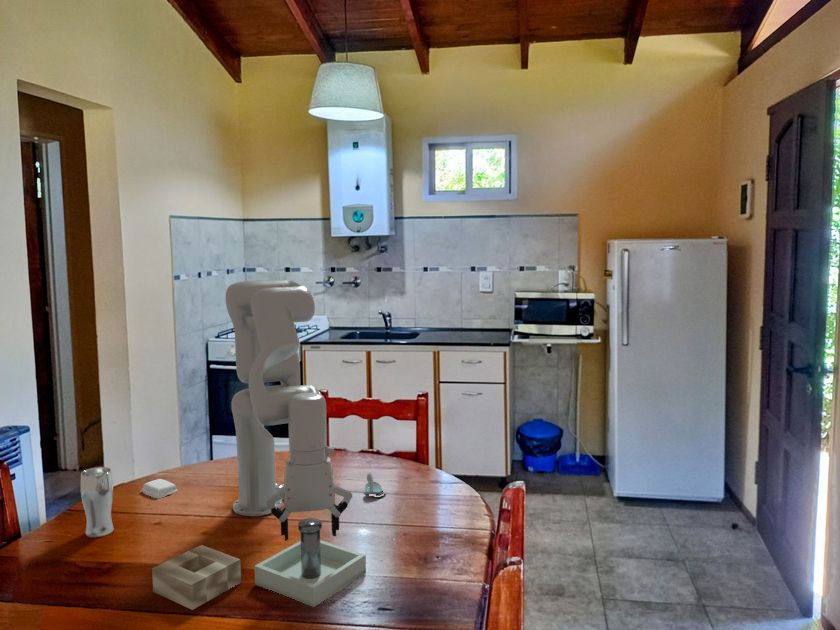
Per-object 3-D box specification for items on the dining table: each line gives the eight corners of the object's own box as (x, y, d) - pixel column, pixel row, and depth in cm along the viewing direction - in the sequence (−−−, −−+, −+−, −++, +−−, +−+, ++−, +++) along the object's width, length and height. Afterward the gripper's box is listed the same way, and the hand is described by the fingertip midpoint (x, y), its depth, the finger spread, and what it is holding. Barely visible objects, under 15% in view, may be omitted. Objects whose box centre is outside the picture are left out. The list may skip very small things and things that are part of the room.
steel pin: (310, 566, 142) (309, 516, 140) (327, 572, 139) (326, 521, 138) (294, 575, 138) (293, 524, 136) (312, 582, 135) (310, 530, 134)
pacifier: (386, 490, 187) (365, 489, 187) (387, 468, 187) (365, 467, 187) (385, 500, 180) (362, 499, 180) (385, 478, 179) (363, 477, 179)
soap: (179, 493, 186) (179, 483, 186) (157, 500, 181) (156, 490, 181) (162, 485, 192) (161, 476, 191) (139, 492, 186) (139, 482, 186)
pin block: (202, 567, 144) (201, 544, 143) (241, 582, 137) (240, 559, 136) (153, 591, 134) (151, 568, 133) (192, 609, 127) (191, 585, 126)
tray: (309, 553, 150) (308, 536, 149) (366, 572, 141) (365, 554, 140) (255, 584, 136) (254, 565, 136) (314, 608, 127) (313, 588, 127)
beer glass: (103, 539, 157) (99, 477, 155) (76, 537, 158) (72, 475, 157) (121, 527, 164) (118, 467, 162) (96, 524, 165) (92, 465, 163)
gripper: (349, 446, 141) (350, 524, 143) (264, 452, 137) (267, 531, 139) (353, 457, 133) (354, 539, 135) (264, 464, 130) (266, 548, 132)
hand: (310, 535), depth 137 cm, fingers open, 9 cm apart
